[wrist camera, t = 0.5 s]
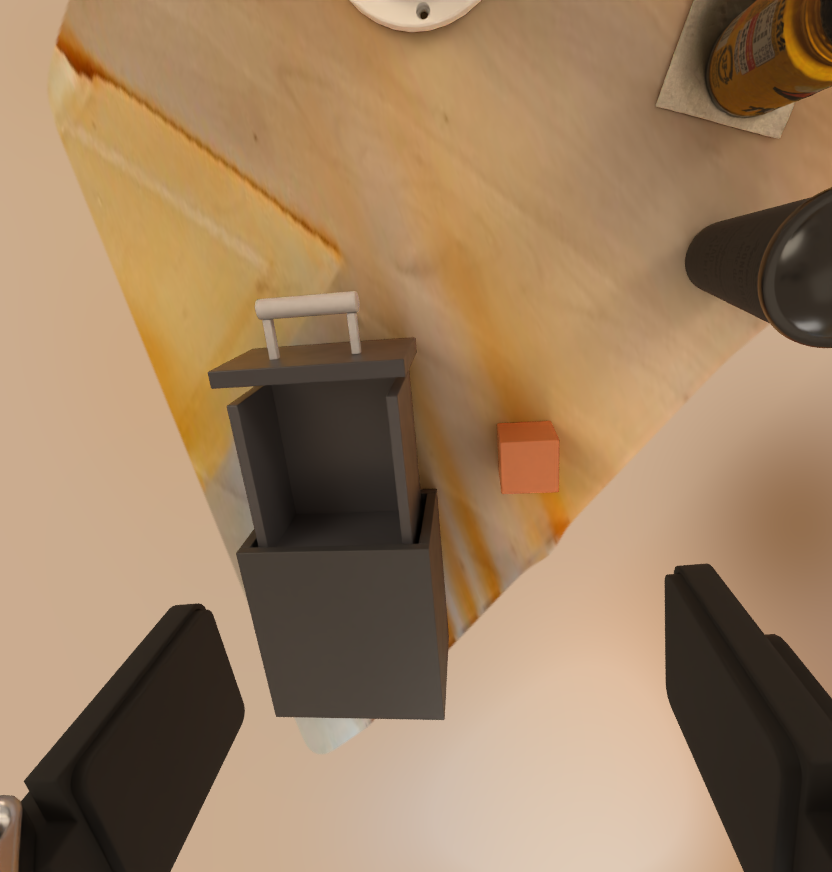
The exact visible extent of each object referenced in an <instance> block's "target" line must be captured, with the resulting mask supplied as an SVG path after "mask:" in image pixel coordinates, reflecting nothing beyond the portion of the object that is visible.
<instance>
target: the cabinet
mask: <svg viewBox="0 0 832 872" xmlns="http://www.w3.org/2000/svg"><path fill="white" fill-rule="evenodd" d="M420 491H421V502H422V512H423V514H422V520H421V526H420V532H419V538H418V544H390V545H345V546H299V547H258V542H257V538H256V533H255V529H254V530H253V531H252V533H251V534H250V535H249V537H248V538H247V539H246V541H245V542H244V543H243V545H242V546H241V548H240V549H239V550H238V551H237V553H236V555H237V559H238V563H239V567H240V572H241V576H242V580H243V584H244V588H245V592H246V596H247V600H248V604H249V608H250V612H251V616H252V620H253V624H254V629H255V633H256V636H257V641H258V645H259V649H260V653H261V657H262V661H263V665H264V669H265V673H266V677H267V681H268V685H269V689H270V693H271V697H272V702H273V706H274V710H275V714H276V717H317V718H369V719H423V720H444V719H445V700H446V681H447V680H446V679H447V661H448V641H449V634H448V622H447V610H446V598H445V585H444V573H443V561H442V548H441V536H440V524H439V511H438V499H437V489H422V490H420Z"/></svg>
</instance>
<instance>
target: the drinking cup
mask: <svg viewBox="0 0 832 872" xmlns="http://www.w3.org/2000/svg"><path fill="white" fill-rule="evenodd" d="M685 268H686V272H687V275H688V277H689V279H690V280H691V282H692V283H693V284H694V285H695V286H697V287H698V288H700V289H702V290H704V291H706V292H708V293H710V294H712V295H714V296H716V297H718V298H720V299H722V300H724V301H726V302H728V303H730V304H732V305H734V306H736V307H738V308H740V309H742V310H744V311H746V312H748V313H750V314H752V315H754V316H756V317H758V318H760V319H762V320H764V321H766V322H768V323H770V324H771V325H772V326H773V327H774V328H775V329H776V330H777V331H778V332H779V333H780V334H782V335H783V336H785V337H786V338H788V339H790V340H792V341H794V342H797V343H800V344H803V345H806V346H811V347H817V348H832V187H831V188H829V189H826V190H824V191H822V192H820V193H818V194H817V195H815V196H813V197H811V198H807V199H803V200H800V201H796V202H792V203H788V204H785V205H781V206H777V207H773V208H769V209H766V210H762V211H758V212H754V213H751V214H747V215H743V216H739V217H735V218H732V219H728V220H724V221H720V222H717V223H714V224H712V225H710V226H708V227H706V228H705V229H703V230H702V231H701V232H700V233H699V234H698V235H697V236H696V237H695V238H694V239H693V241H692V242H691V244H690V246H689V248H688V250H687V253H686V258H685Z"/></svg>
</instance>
